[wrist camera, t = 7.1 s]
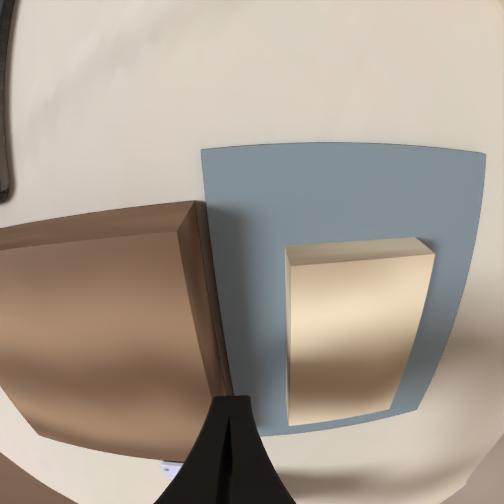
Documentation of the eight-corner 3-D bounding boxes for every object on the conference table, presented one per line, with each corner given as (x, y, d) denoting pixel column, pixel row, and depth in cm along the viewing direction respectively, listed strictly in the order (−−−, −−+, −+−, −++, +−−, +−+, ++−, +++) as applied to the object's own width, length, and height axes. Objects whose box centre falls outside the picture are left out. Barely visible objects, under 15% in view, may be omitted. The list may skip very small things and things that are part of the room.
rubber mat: (415, 405, 18) (416, 409, 18) (241, 432, 18) (241, 437, 18) (481, 152, 11) (486, 154, 11) (202, 149, 11) (200, 150, 11)
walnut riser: (231, 418, 18) (230, 462, 14) (54, 402, 18) (39, 435, 15) (194, 200, 12) (176, 231, 9) (-26, 234, 12) (-64, 259, 9)
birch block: (288, 426, 15) (285, 402, 16) (389, 409, 15) (380, 387, 16) (290, 266, 11) (284, 246, 12) (435, 253, 11) (415, 237, 12)
